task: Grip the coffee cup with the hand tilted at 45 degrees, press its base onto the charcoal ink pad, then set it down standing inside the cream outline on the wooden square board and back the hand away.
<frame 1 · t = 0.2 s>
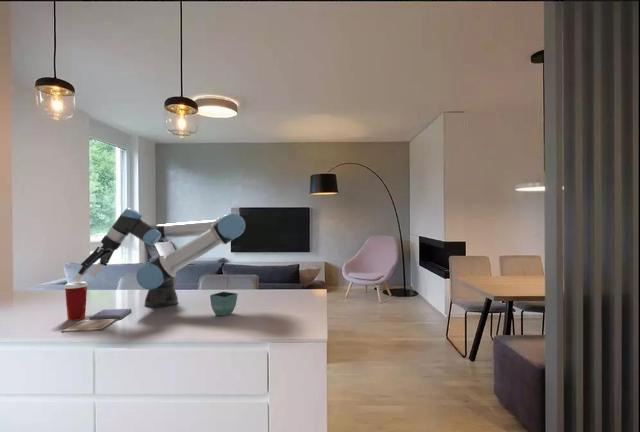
hand: (84, 277, 153), 16 cm above the table, tool tilted 35°, fingers open, 13 cm apart
coffee cup: (76, 318, 144), on the table, touching gripper
flower pot: (223, 314, 152), on the table
wooden square board: (91, 325, 134), on the table
ink pad: (111, 316, 148), on the table
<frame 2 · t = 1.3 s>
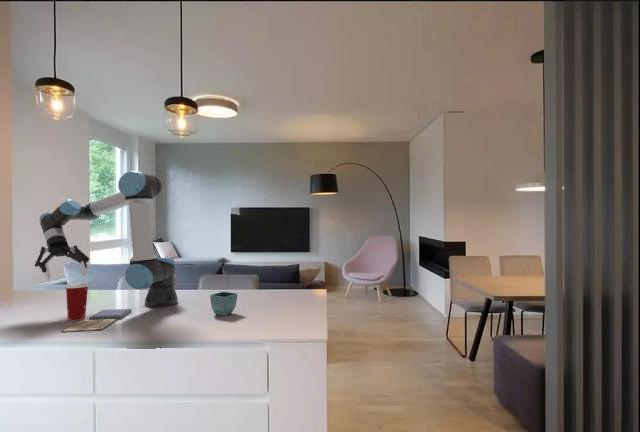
hand: (67, 275, 150), 17 cm above the table, tool tilted 45°, fingers open, 13 cm apart
coffee cup: (76, 318, 144), on the table
everything else where it was.
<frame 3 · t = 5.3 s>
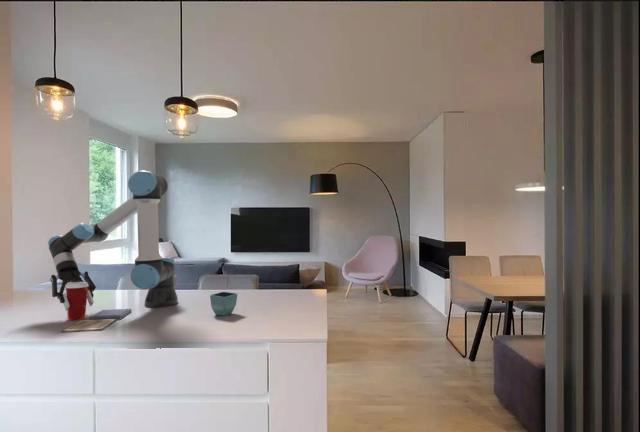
hand: (80, 306, 142), 6 cm above the table, tool tilted 45°, fingers closed on coffee cup, 8 cm apart
coffee cup: (76, 318, 144), on the table, touching gripper
everything else where it was.
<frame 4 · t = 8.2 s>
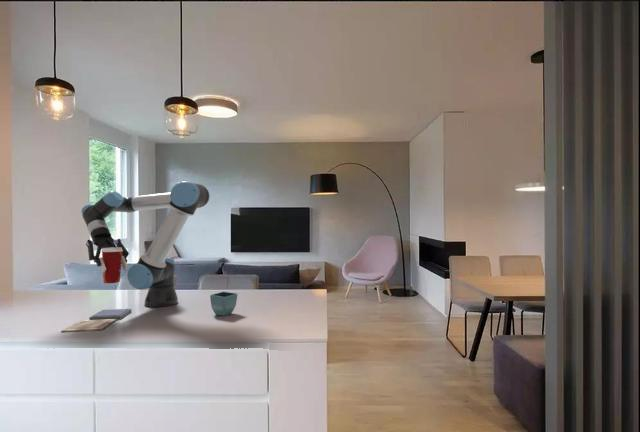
hand: (115, 269, 146), 20 cm above the table, tool tilted 45°, fingers closed on coffee cup, 8 cm apart
coffee cup: (111, 282, 148), point 15 cm above the table, touching gripper
everything else where it was.
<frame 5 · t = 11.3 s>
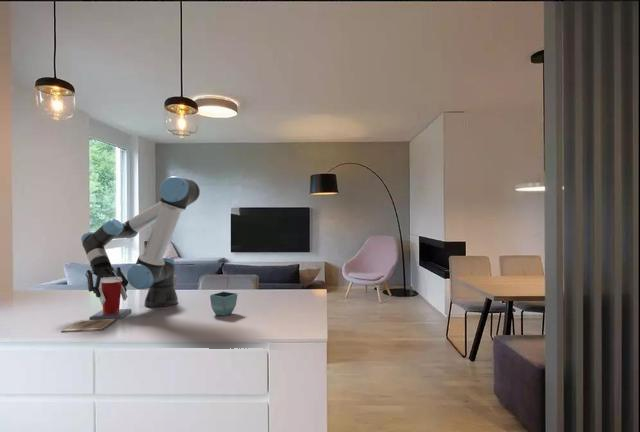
hand: (114, 300, 146), 7 cm above the table, tool tilted 45°, fingers closed on coffee cup, 8 cm apart
coffee cup: (111, 312, 148), point 1 cm above the table, touching gripper, ink pad
everything else where it was.
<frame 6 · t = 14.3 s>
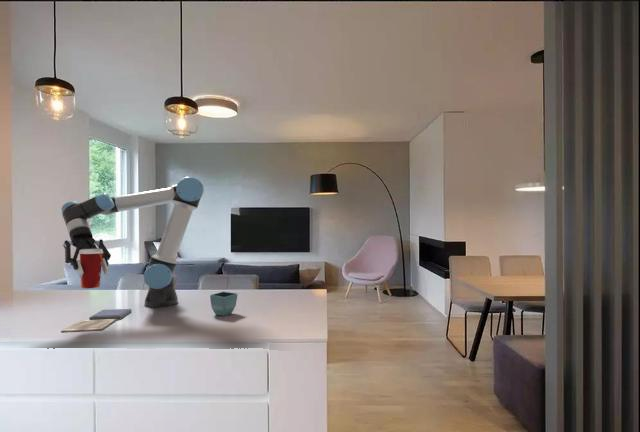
hand: (94, 273, 133), 21 cm above the table, tool tilted 45°, fingers closed on coffee cup, 8 cm apart
coffee cup: (90, 287, 135), point 15 cm above the table, touching gripper
everything else where it was.
when the fingers open (8 cm above the table, at t = 17.3 s): coffee cup drops 2 cm, resting on wooden square board.
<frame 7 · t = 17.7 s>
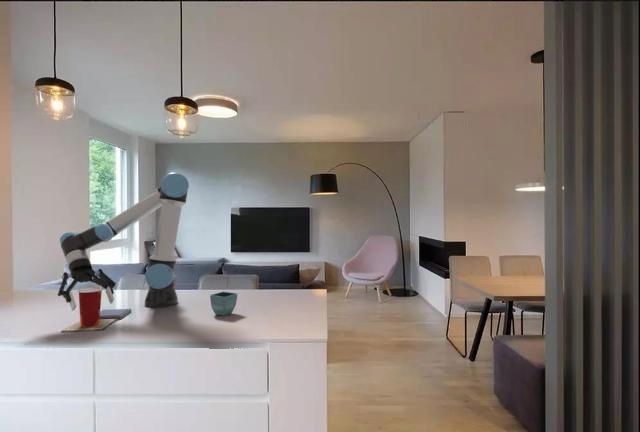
hand: (94, 304, 133), 9 cm above the table, tool tilted 45°, fingers open, 13 cm apart
coffee cup: (89, 325, 134), resting on wooden square board
everything else where it was.
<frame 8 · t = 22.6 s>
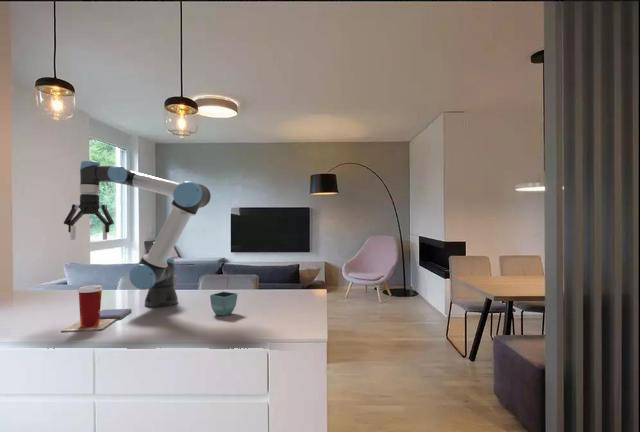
hand: (89, 239, 158), 33 cm above the table, tool pointing down, fingers open, 13 cm apart
nothing on the table moved.
at the end: coffee cup 0.4 cm off-centre on the wooden square board, point 0.2 cm above the wooden square board's base; coffee cup tilted 0°; the gripper is holding nothing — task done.
